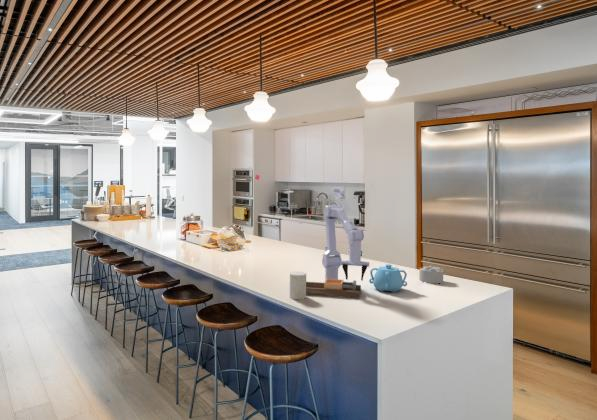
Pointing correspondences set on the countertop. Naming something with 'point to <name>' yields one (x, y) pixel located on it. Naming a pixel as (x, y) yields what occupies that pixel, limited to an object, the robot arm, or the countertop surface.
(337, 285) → the drawer
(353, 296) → the bay
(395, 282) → the decorative pot
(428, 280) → the lumpy-topped squat cylinder
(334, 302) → the countertop surface
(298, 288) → the cup
